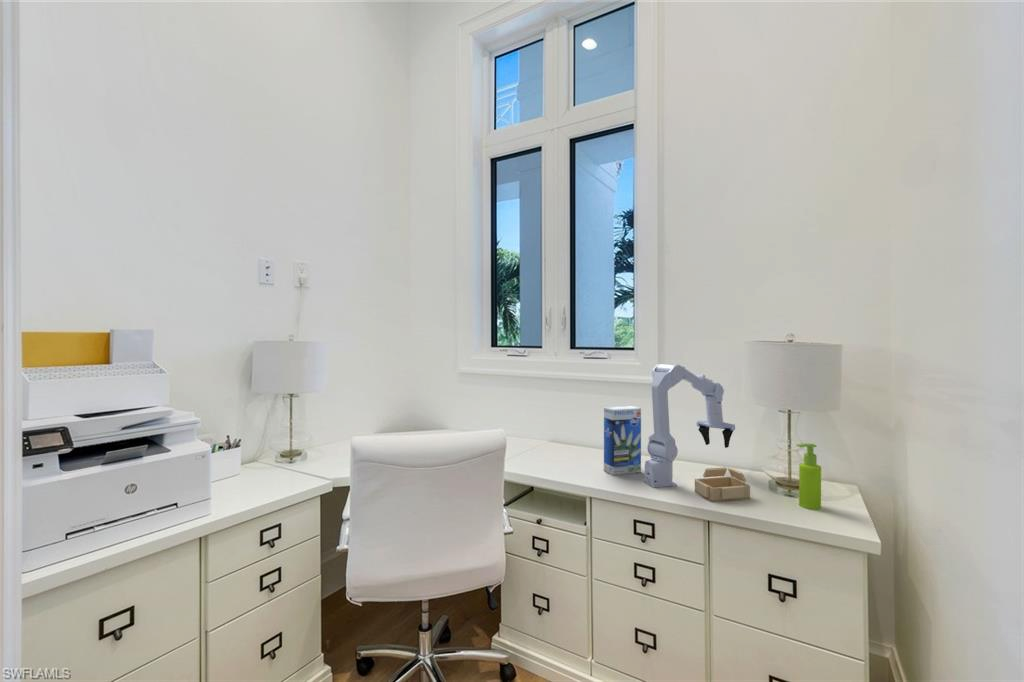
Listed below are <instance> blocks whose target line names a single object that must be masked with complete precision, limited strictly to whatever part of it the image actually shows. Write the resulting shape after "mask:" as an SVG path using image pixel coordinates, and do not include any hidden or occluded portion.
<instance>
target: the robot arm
mask: <svg viewBox="0 0 1024 682" xmlns="http://www.w3.org/2000/svg"><path fill="white" fill-rule="evenodd" d="M651 371H652V382H651V397H652V398H651V399H652V402H651V403H652V419H653V433H652V434H651V435H649V436H648V443H647V447H646V448H647V452H648V454H649V455H650V458H651V459H649V460H646V461H645V462H644V479H643V481H644V482H645V483H646V484H648V485H649V486H651V487H652V486H653V488H663V487H664V488H665V487H675V486H676V487H677V486H678V483H676V482H675V481H673V475H674V473H673V472H674V471H673V467H674V466H673V463H674V461H675V459H676V458H677V457H678V451H679V450H678V447H677V445H676V439H675V438H674V437H673V436H672V434H671V433H670V431H671V429H670V416H669V415H670V414H669V413H670V412H669V411H670V410H669V394H668V391H669V390H670V389H671V388H673V387H675V386H676V385H678V384H679V383H680V382H681V381H685V382H688V383H690V384H691V387H692V388H693V389H694V390H697V391H698V392H700V393H701V395H702V396H704V397H705V398H704V399H705V400H704V401H705V410H706V420H697V421H696V427H699V428H698V429H697V430H698V431H699V433H700V435H701V436H702V438H703V442H704V444H705V445H706V446H708V445H710V441H711V440H710V428H711V429H712V428H713V429H721V430H722V432H721V433H722V436H723V442H724V443H723V445H724V448H725V449H728V448H729V447H730V441H731V437H732V435H733V432H734V431H735V430H736V424H734V423H733V424H732V423H728V422H724V418H723V417H724V416H723V405H722V402H723V398H724V397H723V395H724V393H725V388H724V387H723V386H722V384H720V383H719V382H714V381H713V379H709V378H707V377H706V375H704V374H701V373H700V374H694V373H693V372H691V371H689V370H688V369H686V367H684V366H682V365H680V364H667V363H658V364H656V365H655V366H654V367H653V368H652V370H651Z"/></svg>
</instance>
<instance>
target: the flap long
mask: <svg viewBox="0 0 1024 682" xmlns="http://www.w3.org/2000/svg"><path fill="white" fill-rule="evenodd" d="M727 468H728V467H726V466H723V467H709V468H705V470H704V473H703V474H702V476H703V478H716V477H725V475H726V473H727V470H728V469H727Z"/></svg>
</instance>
